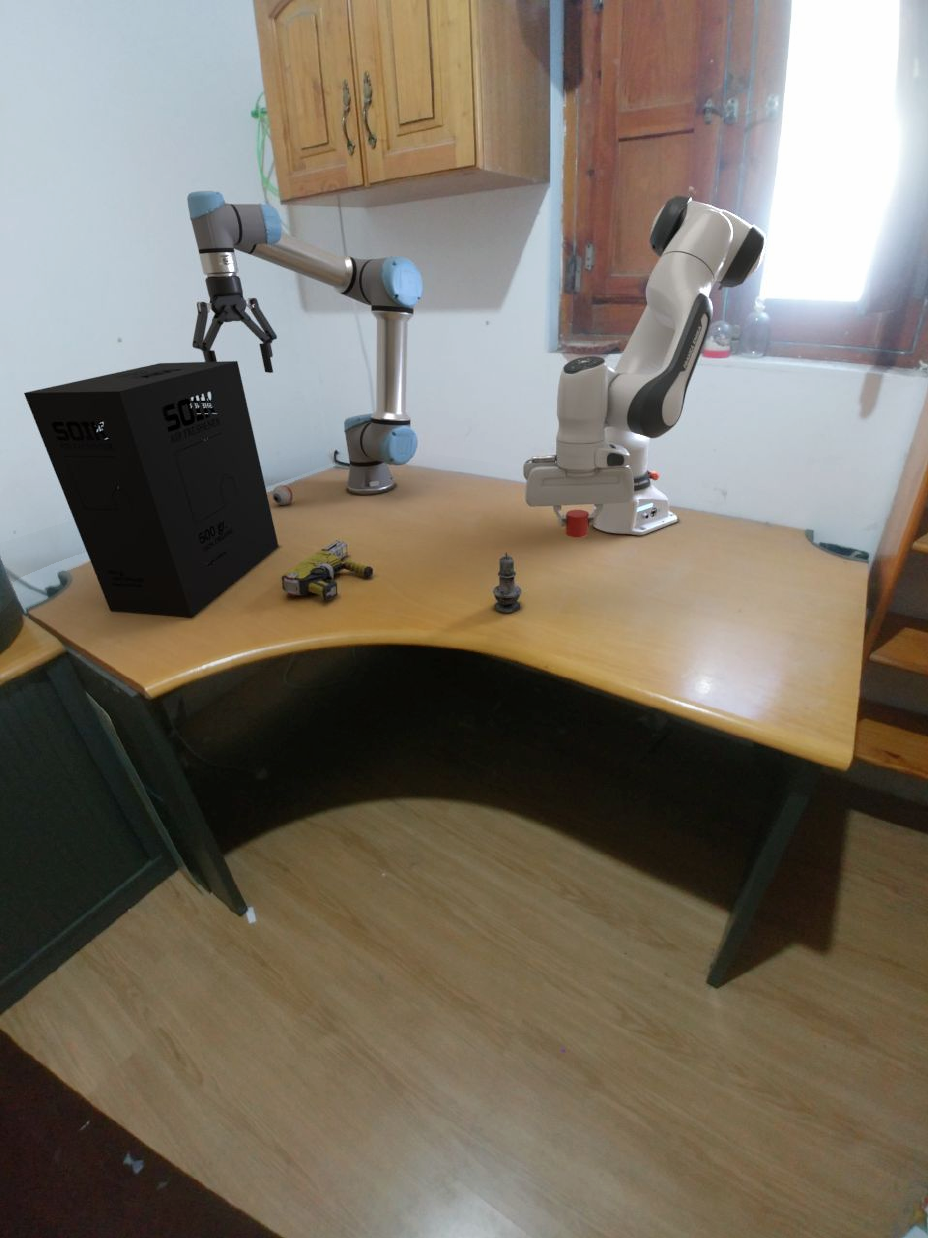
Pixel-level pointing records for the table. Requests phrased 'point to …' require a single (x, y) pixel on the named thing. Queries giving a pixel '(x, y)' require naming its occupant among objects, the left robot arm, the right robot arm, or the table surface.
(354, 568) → the toy gun
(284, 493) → the eyeball
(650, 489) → the right robot arm
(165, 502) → the cardboard box
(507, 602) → the dark grey tapered piece
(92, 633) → the table surface
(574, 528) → the can
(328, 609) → the table surface
